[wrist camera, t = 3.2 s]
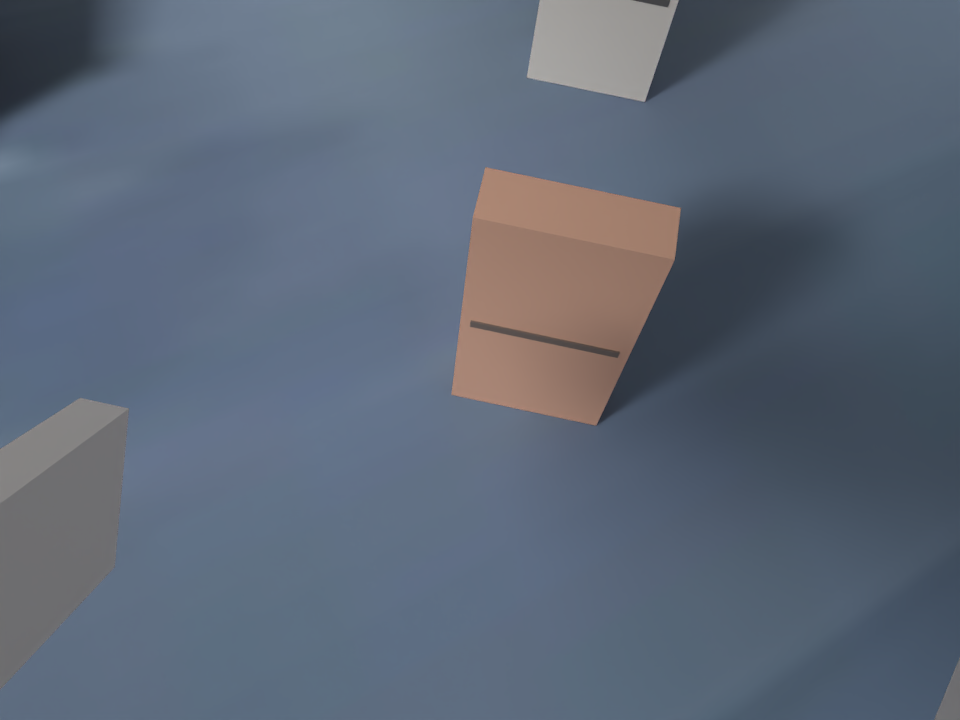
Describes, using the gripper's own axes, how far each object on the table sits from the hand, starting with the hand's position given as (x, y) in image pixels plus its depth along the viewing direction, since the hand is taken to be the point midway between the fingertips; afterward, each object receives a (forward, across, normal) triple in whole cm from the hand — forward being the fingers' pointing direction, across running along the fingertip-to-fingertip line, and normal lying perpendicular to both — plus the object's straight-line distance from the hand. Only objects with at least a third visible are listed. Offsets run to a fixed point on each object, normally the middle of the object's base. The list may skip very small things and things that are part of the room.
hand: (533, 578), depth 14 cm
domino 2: (+18, 0, -3) cm, 18 cm away
